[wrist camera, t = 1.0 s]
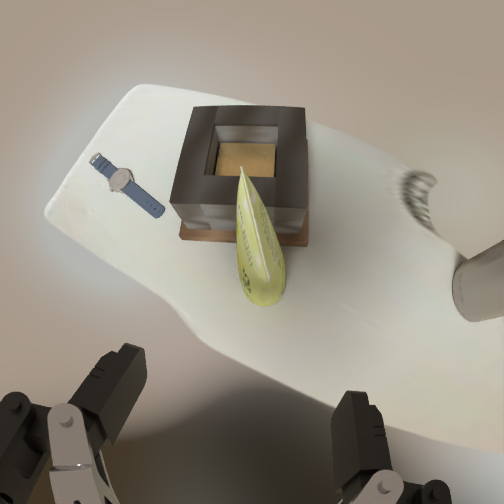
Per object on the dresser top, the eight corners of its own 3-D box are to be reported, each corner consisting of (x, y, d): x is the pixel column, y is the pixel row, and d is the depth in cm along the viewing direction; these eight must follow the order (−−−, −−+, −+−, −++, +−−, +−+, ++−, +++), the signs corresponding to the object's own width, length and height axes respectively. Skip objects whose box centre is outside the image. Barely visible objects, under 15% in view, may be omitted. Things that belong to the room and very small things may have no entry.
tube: (231, 288, 35) (188, 224, 17) (255, 255, 36) (241, 163, 18) (269, 315, 34) (268, 280, 15) (293, 281, 35) (319, 209, 16)
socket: (306, 145, 41) (312, 103, 32) (306, 246, 36) (317, 216, 28) (201, 143, 42) (188, 102, 34) (182, 239, 37) (158, 209, 29)
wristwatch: (100, 149, 44) (98, 146, 43) (172, 205, 40) (170, 202, 39) (84, 167, 43) (81, 164, 42) (152, 227, 39) (149, 225, 38)
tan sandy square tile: (275, 148, 36) (275, 144, 35) (272, 195, 34) (273, 191, 33) (221, 147, 36) (220, 142, 35) (213, 193, 34) (212, 189, 33)
